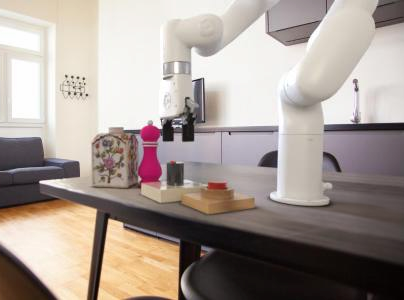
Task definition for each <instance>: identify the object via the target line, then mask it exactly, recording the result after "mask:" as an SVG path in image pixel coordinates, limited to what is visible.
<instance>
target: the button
mask: <svg viewBox="0 0 404 300" xmlns="http://www.w3.org/2000/svg"><path fill="white" fill-rule="evenodd" d="M227 183H228V182H227V180H226V181H225V180H220V179H219V180H218V179H211V180H208V181H207V185H208V189H215V190H224V189H227V186H228V184H227Z"/></svg>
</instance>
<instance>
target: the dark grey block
mask: <svg viewBox="0 0 404 300" xmlns="http://www.w3.org/2000/svg"><path fill="white" fill-rule="evenodd" d="M184 180H185V162H183V161H176V160H170V161H167V162H166V181H167V185H173V186H179V185H184Z"/></svg>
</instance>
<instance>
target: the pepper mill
mask: <svg viewBox="0 0 404 300" xmlns="http://www.w3.org/2000/svg"><path fill="white" fill-rule="evenodd" d="M146 124H147V125H145V126H143V127H142V128H141V129H140V132H139V137H140V139H141V140H142V142H141V147H142V148H143V149H142V150H143V155H142V159H141V161H140V163H139V169H138V175H139V178H140V180H139V187H140V188H141V183H150V182H161V180H160V178H161V177H162V176H163V169H162V165H161V162H160V161H159V158H158V153H157V152H158V147H159V141H158V140H159V139H160V137H161V131H160V129H159V127H157V126H156V125H154V121H153V120H152V119H148V120H147V122H146Z"/></svg>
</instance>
